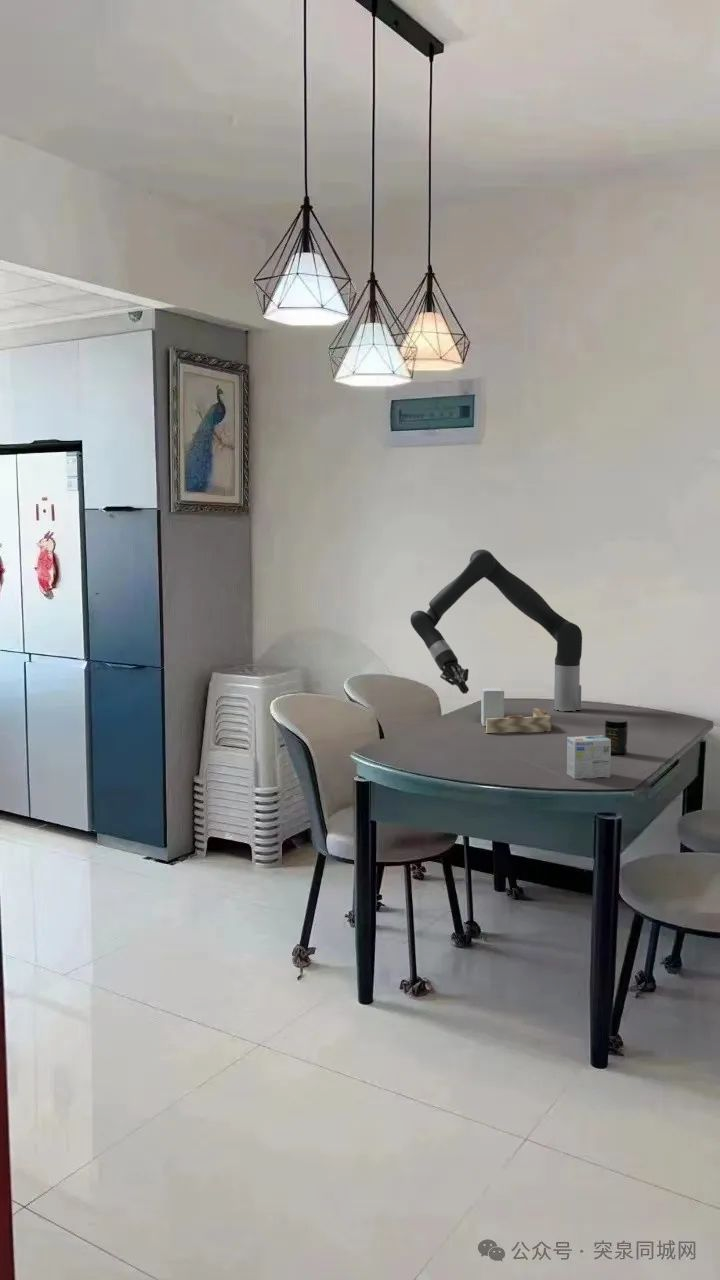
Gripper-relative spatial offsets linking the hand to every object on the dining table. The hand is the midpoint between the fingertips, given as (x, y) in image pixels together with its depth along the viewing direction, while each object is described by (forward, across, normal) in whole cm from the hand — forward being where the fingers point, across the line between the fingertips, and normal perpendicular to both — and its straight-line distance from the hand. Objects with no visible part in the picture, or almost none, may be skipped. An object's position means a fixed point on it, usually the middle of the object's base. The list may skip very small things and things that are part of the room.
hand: (466, 692), depth 353 cm
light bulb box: (+64, -30, -50) cm, 86 cm away
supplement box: (+16, 0, -2) cm, 17 cm away
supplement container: (+55, -2, -41) cm, 69 cm away
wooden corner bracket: (+22, +1, -8) cm, 24 cm away
